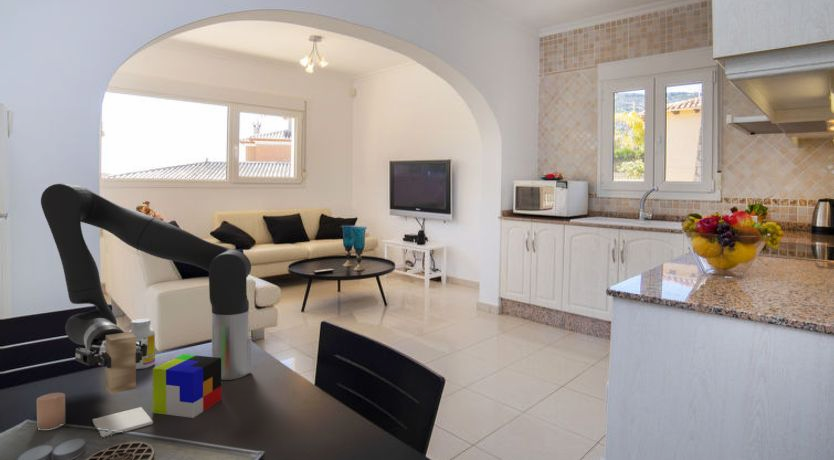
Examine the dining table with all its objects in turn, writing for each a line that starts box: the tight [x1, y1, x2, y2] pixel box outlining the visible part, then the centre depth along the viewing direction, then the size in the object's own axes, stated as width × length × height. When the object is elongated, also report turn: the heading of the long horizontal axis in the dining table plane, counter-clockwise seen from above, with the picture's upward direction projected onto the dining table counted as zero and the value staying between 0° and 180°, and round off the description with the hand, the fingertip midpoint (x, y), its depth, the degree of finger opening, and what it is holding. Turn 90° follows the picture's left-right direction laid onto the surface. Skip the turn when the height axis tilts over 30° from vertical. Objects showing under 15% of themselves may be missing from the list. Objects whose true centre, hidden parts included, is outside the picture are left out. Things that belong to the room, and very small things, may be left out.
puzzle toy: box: [152, 353, 222, 419], centre depth 108 cm, size 10×10×10 cm
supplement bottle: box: [128, 318, 156, 370], centre depth 132 cm, size 7×7×13 cm
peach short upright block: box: [36, 392, 67, 429], centre depth 97 cm, size 5×5×6 cm
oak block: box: [105, 331, 137, 395], centre depth 98 cm, size 4×4×11 cm
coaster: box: [92, 406, 154, 436], centre depth 99 cm, size 9×9×1 cm
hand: (124, 360), depth 96 cm, fingers closed on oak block, 4 cm apart
